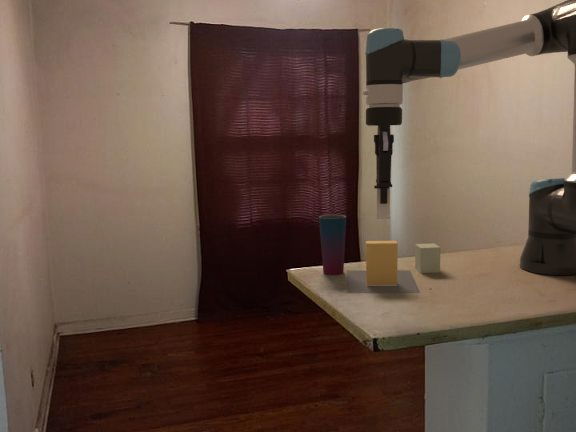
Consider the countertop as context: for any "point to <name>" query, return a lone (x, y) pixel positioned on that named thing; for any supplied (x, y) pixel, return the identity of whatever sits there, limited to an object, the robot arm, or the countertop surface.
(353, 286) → the mat
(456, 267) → the countertop surface
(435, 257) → the sage block
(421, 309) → the countertop surface
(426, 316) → the countertop surface
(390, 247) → the ochre slab
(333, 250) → the cup
